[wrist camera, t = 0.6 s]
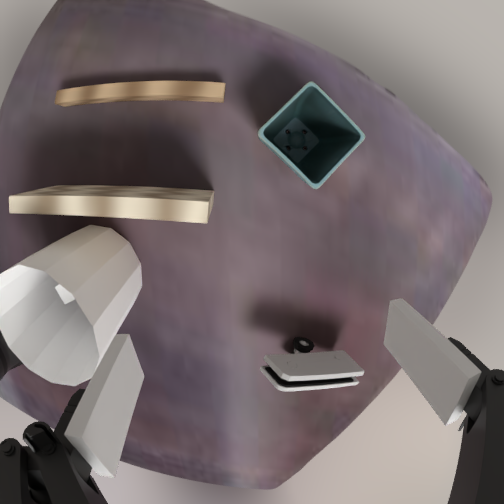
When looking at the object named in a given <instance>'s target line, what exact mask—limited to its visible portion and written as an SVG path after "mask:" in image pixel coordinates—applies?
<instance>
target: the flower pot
mask: <svg viewBox="0 0 504 504" xmlns="http://www.w3.org/2000/svg"><path fill="white" fill-rule="evenodd" d="M286 130H289V131H290V132H289V133H288V134H287V133H286ZM303 130H305V131H306V134H303ZM258 137H259V139H260V140H261V141H262V142H263V143H264V144H265V145H266V146H267V147H268V148H269V149H270V150H272V151H273V152H274V153H275V154H276V155H277V156H278V157H279V158H280V159H281V160H282V161H283V162H284V163H285V164H286V165H287V166H288V167H289V168H290V169H292V170H293V171H294V172H295V173H296V174H297V175H298V176H299V177H300V178H301V179H302V180H303V181H304V182H305V183H307V184H308V185H309V186H311V187H312V188H313V189H318V188H319V187H320V186H321V185H322V184H323V183H324V182H325V181H326V180H327V179H328V178H329V177H330V175H331V174H332V173H333V172H334V171H335V170H336V169H337V168H338V167H339V166H340V164H342V162H343V161H344V160H345V159H346V158H347V157H348V156H349V155H350V154H351V153H352V152H353V151H354V150H355V149H356V148H357V147H358V146H359V145H360V144H361V143H362V141H363V140H364V138H365V135H364V133H363V132H362V131H361V130H360V129H359V127H358V126H357V125H356V124H355V123H354V122H353V121H352V120H351V119H350V118H349V117H348V116H347V115H346V114H345V113H344V112H343V111H342V110H341V109H340V107H339V106H338V105H337V104H336V103H335V102H334V101H333V100H332V99H331V98H330V97H329V96H328V95H327V94H326V93H325V92H324V91H323V90H322V89H321V88H320V87H319V86H318V85H317V84H315V83H314V82H312V81H310V82H308V83H307V84H305V85H304V86H303V88H301V89H300V90H299V91H298V92H297V93H296V94H295V95H294V96H293V97H292V98H291V99H290V100H289V101H288V102H287V103H286V104H285V105H284V106H283V107H282V108H281V109H280V110H279V111H278V112H277V113H276V114H275V115H274V116H273V117H272V118H270V119H269V121H267V122H266V123H265V124H264V125H263V126H262V127H261V128H260V129H259V131H258ZM288 146H289V147H290V150H287V147H288ZM304 146H305V147H307V150H303V147H304Z"/></svg>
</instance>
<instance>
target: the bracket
mask: <svg viewBox="0 0 504 504" xmlns="http://www.w3.org/2000/svg"><path fill="white" fill-rule="evenodd" d="M293 344H294V348H295V349H294V352H293V353H291V354H278V355H265V357H264V360H265V361H266V363H267V364H268V365H269V366H261V368H260V371H261V372H262V373H263V374H264V375H265V376H266V377H267V379H268V380H269V381H270V382H271V383H272V384H273V385H274V387H275V388H277V389H278V390H280V391H302V390H315V389H326V388H335V387H344V386H352V385H357V384H358V383H359V381H358V380H357V379H356V378H355V377H356V376H362V375H363V374H364V370H363V369H362V368H361V367H360V366H359V365H358V364H357V363H356V362H355V361H354V360H353V359H352V358H351V357H350V356H349V355H348V354H347V353H346V352H345V351H344V350H340V351H329V352H316V353H309V352H310V351H311V350H313V347H314V344H313V342H311V341H310V340H308V339H306V338H301V337H297V338H295V339H294V342H293Z"/></svg>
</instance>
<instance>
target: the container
mask: <svg viewBox="0 0 504 504" xmlns="http://www.w3.org/2000/svg"><path fill="white" fill-rule="evenodd" d="M141 287H142V275H141V263H140V261H139V259H138V257H137V255H136V254H135V252H134V250H133V248H132V246H131V244H130V242H129V241H127V240H126V239H125V238H123V237H122V236H121V235H119V234H118V233H117V232H115V231H114V230H113V229H112V228H108V227H102V226H95V225H88V226H86V227H84V228H82V229H80V230H77V231H75V232H73V233H71V234H69V235H67V236H65V237H63V238H61V239H60V240H58V241H56V242H54V243H52V244H50V245H49V246H47V247H45V248H43V249H41V250H40V251H38V252H36V253H34V254H33V255H31V256H29V257H27V258H26V259H24V260H22V261H21V262H19V263H17V264H16V265H14V266H12V267H11V268H9V269H7V270H6V271H4V272H3V273H1V274H0V331H1V333H2V335H3V337H4V339H5V341H6V343H7V345H8V347H9V348H10V349H11V350H12V352H13V353H14V354H15V355H16V356H17V357H18V358H19V359H20V360H21V362H22V363H23V364H24V365H25V366H26V367H27V368H28V369H29V370H31V371H33V372H34V373H36V374H38V375H39V376H41V377H43V378H44V379H46V380H48V381H50V382H51V383H56V384H63V385H70V386H76V385H78V384H80V383H83V382H85V381H87V380H89V379H91V378H92V377H93V375H94V373H95V371H96V369H97V367H98V365H99V363H100V362H101V360H102V358H103V356H104V354H105V352H106V351H107V349H108V347H109V345H110V343H111V342H112V340H113V338H114V336H115V335H116V333H117V331H118V330H119V328H120V326H121V324H122V323H123V321H124V319H125V318H126V316H127V314H128V312H129V311H130V309H131V307H132V306H133V304H134V302H135V300H136V298H137V296H138V293H139V291H140V289H141Z"/></svg>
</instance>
